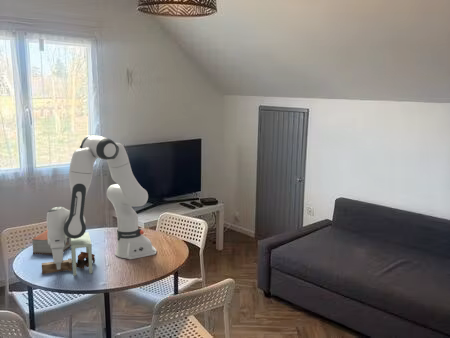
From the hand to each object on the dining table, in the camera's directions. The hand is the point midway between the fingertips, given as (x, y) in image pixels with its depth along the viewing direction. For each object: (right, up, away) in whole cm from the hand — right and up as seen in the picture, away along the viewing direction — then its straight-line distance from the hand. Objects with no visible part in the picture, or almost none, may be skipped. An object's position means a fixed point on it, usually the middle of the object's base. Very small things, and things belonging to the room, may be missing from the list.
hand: (58, 265), depth 213 cm
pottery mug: (+12, -3, +4) cm, 13 cm away
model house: (-14, +3, +32) cm, 35 cm away
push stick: (-1, -3, 0) cm, 3 cm away
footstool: (+10, -2, +4) cm, 11 cm away
